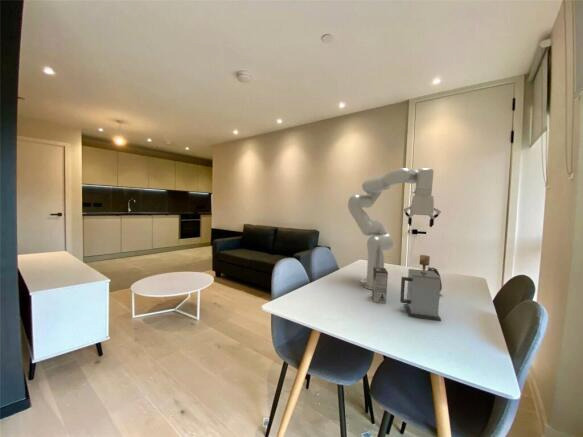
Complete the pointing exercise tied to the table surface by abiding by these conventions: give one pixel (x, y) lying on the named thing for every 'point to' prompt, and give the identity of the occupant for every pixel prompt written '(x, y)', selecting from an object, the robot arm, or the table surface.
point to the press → (421, 294)
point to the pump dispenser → (437, 274)
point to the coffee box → (379, 285)
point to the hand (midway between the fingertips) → (420, 226)
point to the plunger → (424, 262)
